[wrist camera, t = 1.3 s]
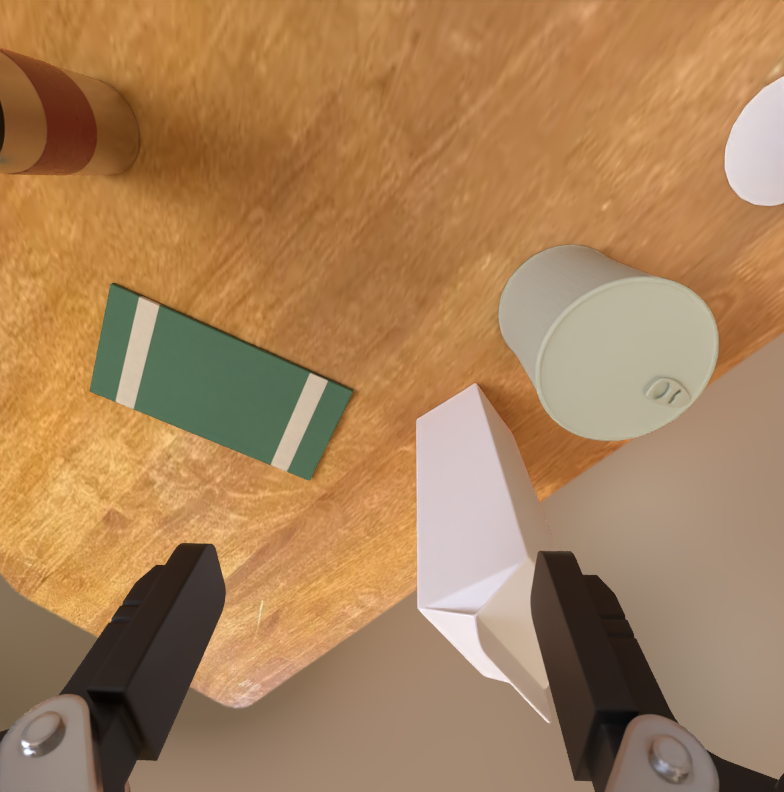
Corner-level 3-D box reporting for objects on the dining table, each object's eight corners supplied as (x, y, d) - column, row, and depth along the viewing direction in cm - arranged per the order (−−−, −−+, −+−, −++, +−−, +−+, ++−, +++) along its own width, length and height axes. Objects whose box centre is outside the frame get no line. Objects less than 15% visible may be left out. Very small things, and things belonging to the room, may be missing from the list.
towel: (113, 282, 34) (110, 283, 34) (353, 389, 37) (353, 392, 37) (92, 389, 38) (89, 391, 38) (310, 478, 41) (309, 481, 41)
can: (571, 386, 36) (638, 473, 25) (474, 331, 35) (501, 400, 24) (652, 284, 33) (770, 336, 22) (547, 219, 31) (618, 240, 20)
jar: (34, 92, 29) (-205, 37, 18) (112, 61, 28) (-87, -19, 17) (84, 189, 32) (-99, 193, 20) (158, 162, 31) (9, 151, 19)
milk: (475, 381, 37) (551, 617, 17) (513, 434, 38) (622, 703, 19) (414, 419, 38) (415, 674, 18) (453, 468, 40) (493, 748, 20)
